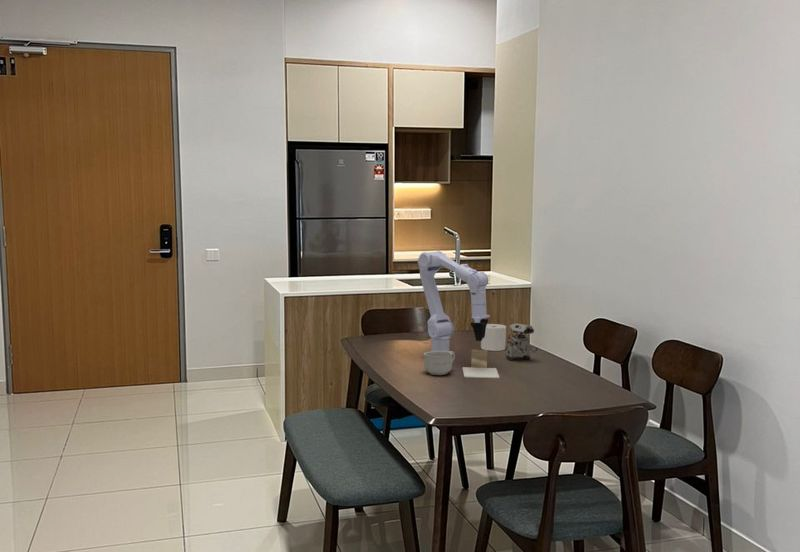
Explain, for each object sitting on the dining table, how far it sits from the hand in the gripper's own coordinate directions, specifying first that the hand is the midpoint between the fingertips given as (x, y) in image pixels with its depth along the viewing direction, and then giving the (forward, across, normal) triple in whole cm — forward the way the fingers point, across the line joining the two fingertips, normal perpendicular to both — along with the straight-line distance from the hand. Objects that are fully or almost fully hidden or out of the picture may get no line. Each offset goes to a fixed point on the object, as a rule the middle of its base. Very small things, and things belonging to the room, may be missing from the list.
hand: (480, 339), depth 296 cm
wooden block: (+12, +4, +2) cm, 12 cm away
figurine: (+12, +21, -13) cm, 28 cm away
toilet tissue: (+10, +40, +1) cm, 41 cm away
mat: (+12, -5, 0) cm, 13 cm away
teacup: (+12, -9, +14) cm, 20 cm away
